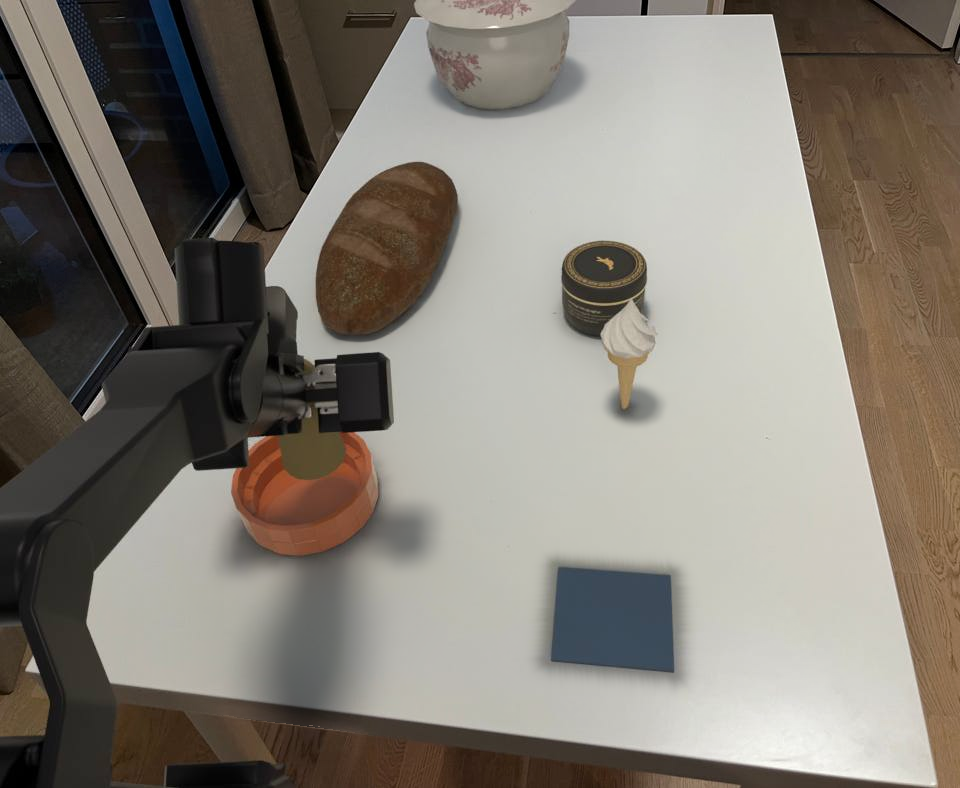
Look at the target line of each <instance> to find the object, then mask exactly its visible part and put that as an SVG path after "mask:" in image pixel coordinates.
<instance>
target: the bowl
mask: <svg viewBox="0 0 960 788" xmlns="http://www.w3.org/2000/svg"><path fill="white" fill-rule="evenodd" d="M339 434H340V436H341V437H342V439H343V441H344V444H345V446H346V456H345V459H344V461H343V463H342V464H341V465H340V466H339V467H338V469H337V470H335V471H334V472H332V473H331V474H329V475H328V476H325V477H322V478H319V479H314V480H302V479H297V478H295V477H293V476H291V475H289V473H288V472H287V471H286V470H285V468H284V465H283V462H282V456H281V450H280V444H279V439H278V436H265V437H262V439H260V440H259V441H257V442H256V443H254V444H253V445H252V446H251V447H250V448H249V449H248V452H249V465H248V467H246V468H235V470H234V471H233V474H232V480H231V481H232V482H231V489H230V495H231V497H232V499H233V503H234V506H235V509H236V511H237V513H238V515H239V517H240V519H241V521H242V523H243V525H244V528H245V529H246V531H247V533H248V535H249V536H250V537H251V538H252V539H253V540H254V541H255V542H256V543H257V544H258V545H259V546H260V547H261V548H265V549H267V550H268V551H272V552H274V553H275V554H278V555H287V556H297V557H299V556H305V555H311V554H312V555H313V554H317V553H321V552H322V553H323V552H325V551H328V550H329V549H330V550H331V549H332V548H334V547H336V546H339V545H341V544H343V543H344V542H346V541H347V540H349V539H350V538H351V537H352V536H354V535H355V534H356V533H358V531H359V532H360V530H361V529H362V528H363V527H364V526H365V524H366V523H367V522H368V520H369V519H370V517H371V516H372V515H373V513H374V510H375V507H376V504H377V501H378V497H379V481H378V480H379V479H378V476H377V475H378V474H377V471H376V468H375V464H374V461H373V456H372V453H371V451H370V449H369V447H368V445H367V444H366V441H365V440H364V439H363V438H362V437H361V436H360V435H359V434H357V432H351V433H342V432H339Z"/></svg>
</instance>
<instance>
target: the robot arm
mask: <svg viewBox="0 0 960 788" xmlns="http://www.w3.org/2000/svg"><path fill="white" fill-rule="evenodd" d="M264 250H265V249H264V245H263V244H262V243H260V242H258V241H249V242H248V241H247V242H245V241H237V240H217V239H216V238H215V237H201V238H188V239H187V238H185V239H183V240H182V244H180V245H178V246H176V247H175V248H174V262H175V278H176V279H175V280H176V281H175V282H176V296H177V298H176V299H177V311H178V312H177V313H178V324H173V325H160V326H158V325H157V326H147V327H144V328H143V330H142V331H141V334H140V335H139V336H138V337H137V340H136V341H135V342H134V344H133V345H132V346H129V347H128V348H127V352H126V355H125V356H124V357H122V359H121V360H120V361H119V363H118V364H117V365H116V366H115V367H114V368H113V369H112V371H110V373H109V374H108V375H107V377H105V379H104V380H103V382H102V383H101V389H102V393H103V397H104V400H105V403H104V404H103V406H102V407H101V408H100V409H99V410H98V411H97V412H96V413H94V414H92V416H91V417H89V418H88V419H87V420H85V421H84V422H83V423H82V424H80V425H79V426H78V427H76V428H75V429H74V430H72V431H71V432H70V433H69V434H68V435H66V436H65V437H64V438H62V439H61V440H60V441H59V442H57V443H56V444H55V445H54V446H52V447H50V449H48V450H47V451H45V452H44V453H43V454H41V456H40V457H38V458H37V459H36V460H34V461H33V462H32V463H30V464H29V465H27V467H25V468H24V469H23V470H22V471H20V472H18V473H17V474H16V475H15V476H14V477H13V478H11V479H10V480H9V481H7V482H6V483H5V484H3V485H2V486H1V487H0V628H9V627H11V628H12V627H22V629H23V632H24V634H25V637H26V640H27V642H28V645H29V648H30V651H31V654H32V656H33V659H34V662H35V665H36V668H37V670H38V673H39V676H40V678H41V681H42V684H43V687H44V689H45V692H46V695H47V697H48V700H49V708H48V715H47V719H46V726H45V732H44V734H28V735H27V734H26V735H6V736H0V788H296V785H295V783H294V781H293V780H292V779H291V778H290V777H289V776H288V775H285V773H286V769H287V764H286V763H285V762H284V763H283V762H282V763H271V762H268V761H265V760H262V759H257V760H256V759H255V760H237V761H217V762H216V761H215V762H198V763H197V762H195V763H177V764H176V763H175V764H173V763H172V764H166V765H165V767H164V777H163V778H164V779H163V786H162V785H154V784H153V785H151V784H143V783H133V782H132V783H131V782H124V781H123V782H122V781H114V780H113V781H112V778H113V772H114V762H113V761H112V756H113V749H114V742H115V733H116V726H117V721H118V713H119V708H118V701H117V700H118V699H117V697H116V695H115V692H114V689H113V687H112V684H111V681H110V679H109V677H108V674H107V672H106V670H105V667H104V664H103V662H102V659H101V657H100V655H99V652H98V649H97V646H96V644H95V642H94V639H93V637H92V634H91V631H90V629H89V626H88V622H87V621H88V613H89V607H90V602H91V595H92V589H93V584H94V578H95V572H96V571H97V569H98V568H99V567H100V566H101V564H102V563H104V562H105V560H106V559H107V558H108V557H109V556H110V554H111V553H112V552H113V550H114V549H115V548H116V547H117V546H118V545H119V544H120V542H121V541H122V540H123V539H124V537H126V535H128V533H129V532H130V530H131V529H132V528H133V527H134V526H135V524H136V523H137V522H138V521H139V520H140V519H141V518H142V516H143V515H144V514H145V513H146V512H147V510H148V509H150V507H151V506H152V505H153V503H154V502H155V501H156V500H157V499H158V498H159V497H160V496H161V494H162V493H163V492H164V490H166V488H167V487H168V486H169V485H170V483H171V482H172V481H173V480H174V479H175V477H176V476H177V475H178V474H180V472H181V470H183V469H185V468H186V467H187V466H189V465H190V464H191V465H192V467H193V470H195V471H196V472H201V471H218V470H232V469H233V470H234V469H236V468H246V467H248V465H249V452H248V451H249V438H261V437H262V438H265V437H266V436H280V435H287V434H296V433H302V419H306V418H311V417H312V415H313V412H312V407H311V406H308V409H307V407H306V403H310V402H314V404H315V408H317V409H318V425H319V433H328V432H342V433H351V432H355V433H365V432H375V431H376V432H377V431H378V432H380V431H381V432H382V431H387V430H389V429H390V428H391V427H392V426H393V424H394V423H395V416H394V414H395V413H394V400H393V399H394V398H393V397H394V396H393V384H392V383H393V381H392V369H391V359H390V358H389V357H388V356H386V355H385V354H384V353H383V352H380V351H374V352H373V351H372V352H359V353H345V354H336V357H333V358H319V359H318V358H317V359H314V361H313V362H314V366H315V368H314V370H313V372H312V373H311V374H302V375H299V373H302V372H304V371H305V368H304V359H305V356H304V355H300V354H298V342H297V331H298V330H297V328H298V327H297V326H298V319H299V318H298V317H299V313H298V310H297V307H296V306H295V304H294V303H293V301H292V300H291V298H290V296H289V294H288V293H287V291H286V289H285V288H283V287H281V286H279V285H270V286H268V285H267V281H266V267H265V251H264ZM311 383H312V385H313V388H314V389H309V390H306V389H305V387H306V384H307V385H308V387H310V386H311Z"/></svg>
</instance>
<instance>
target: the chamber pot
mask: <svg viewBox="0 0 960 788" xmlns="http://www.w3.org/2000/svg"><path fill="white" fill-rule="evenodd" d="M576 1H577V0H415V1H414V2H413V3H414V4H413V6H414V9H415V12H416V14H417V15H419V16H420V17H421V18H423V19H424V20H426V21H427V22H429V24H428V26H427V29H426V32H425V34H426V42H427V48H428V51H429V55H430V57H431V61H432V64H433V67H434V70H435V73H436V76H437V77H438V79H439V80H440V81H441V83H442V84H443V85H444V86H445V88H446V89H447V91H448V92H449V93H450V94H451V95H452V96H453V97H455V98H456V99H457V100H458V101H460V102H461V104H464V105H467V106H469V107H471V108H477V109H484V110H505V109H511V108H512V109H513V108H518V107H521V106H524V105H528V104H531V103H533V102H534V101H536V100H538V99H541V98H542V97H543V96H544V95H545V94H546V93H547V92H548V90H550V89H551V88H552V86H553V85H554V83H555V81H556V80H557V78H558V76H559V74H560V73H561V72H562V69H563V68H564V65H565V61H566V54H567V49H568V46H569V45H568V44H569V39H570V19H569V17H568V15H567V14H566V10H568V9H569V8H570V7H571V6H572V5H573V4H574V3H575V2H576Z"/></svg>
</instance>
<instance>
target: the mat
mask: <svg viewBox="0 0 960 788" xmlns="http://www.w3.org/2000/svg"><path fill="white" fill-rule="evenodd" d="M672 599H673V598H672V575H671V574H661V573H659V574H657V573H647V572H636V571H635V572H634V571H620V570H619V571H618V570H605V569H593V568H592V569H591V568H579V567H568V566H566V567H565V566H558V567H557V578H556V592H555V602H554V603H555V605H554V617H553V631H552V642H551V643H552V644H551V655H550V661H551V662H559V663H570V664H580V665H592V666H603V667H612V668H613V667H614V668H624V669H636V670H644V671H645V670H647V671H656V672H657V671H658V672H668V673H669V672H670V673H675V657H674V654H675V653H674V630H673V628H674V627H673V602H672Z"/></svg>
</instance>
